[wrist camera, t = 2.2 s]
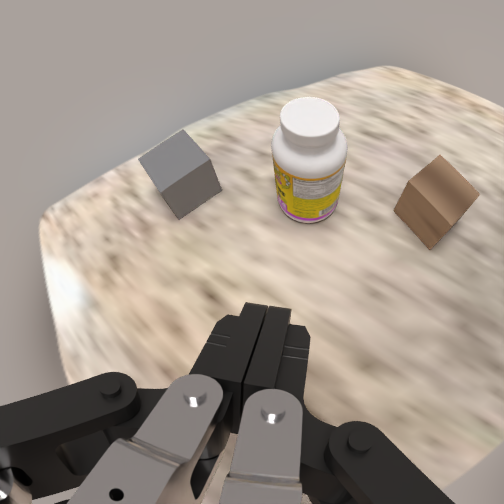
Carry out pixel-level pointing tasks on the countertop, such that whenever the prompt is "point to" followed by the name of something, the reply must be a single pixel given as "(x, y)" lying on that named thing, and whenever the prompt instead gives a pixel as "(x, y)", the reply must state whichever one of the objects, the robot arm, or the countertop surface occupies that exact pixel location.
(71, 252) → the countertop surface
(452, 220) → the walnut block
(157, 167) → the charcoal block
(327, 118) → the supplement bottle
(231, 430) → the robot arm
